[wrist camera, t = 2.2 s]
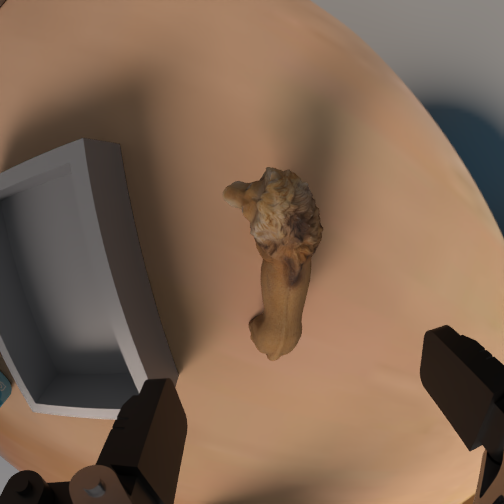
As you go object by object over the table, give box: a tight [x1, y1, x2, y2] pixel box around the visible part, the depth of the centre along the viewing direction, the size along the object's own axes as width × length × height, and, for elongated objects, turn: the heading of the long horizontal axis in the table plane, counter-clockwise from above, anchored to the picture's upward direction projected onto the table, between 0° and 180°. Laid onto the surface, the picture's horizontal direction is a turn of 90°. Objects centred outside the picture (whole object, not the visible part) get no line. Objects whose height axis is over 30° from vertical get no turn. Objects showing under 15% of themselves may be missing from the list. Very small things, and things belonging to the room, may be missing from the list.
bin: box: [0, 138, 179, 420], centre depth 21 cm, size 20×14×6 cm
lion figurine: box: [223, 167, 323, 361], centre depth 20 cm, size 15×5×9 cm, turn 7°
